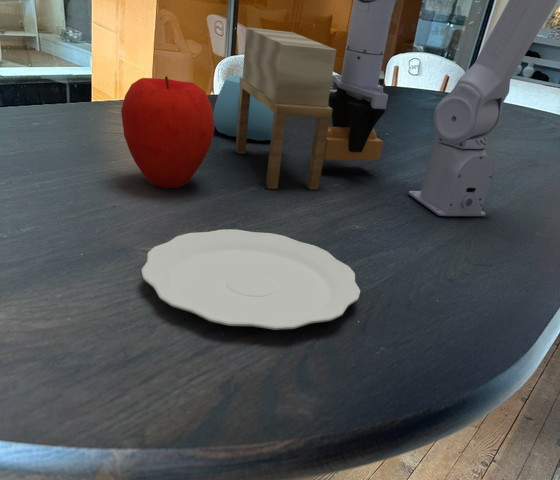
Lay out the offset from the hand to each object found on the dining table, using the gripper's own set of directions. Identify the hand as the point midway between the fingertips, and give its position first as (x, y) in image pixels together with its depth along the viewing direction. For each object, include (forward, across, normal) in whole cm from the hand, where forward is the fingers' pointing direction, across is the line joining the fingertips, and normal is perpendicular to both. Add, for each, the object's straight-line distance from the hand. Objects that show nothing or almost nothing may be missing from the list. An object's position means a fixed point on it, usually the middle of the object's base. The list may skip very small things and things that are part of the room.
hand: (347, 146), depth 94 cm
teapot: (+4, +23, +8) cm, 24 cm away
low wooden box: (+1, 0, 0) cm, 1 cm away
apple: (+4, -6, +30) cm, 31 cm away
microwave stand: (+4, +1, +12) cm, 13 cm away
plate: (+4, -37, +29) cm, 48 cm away
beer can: (+4, +24, -17) cm, 29 cm away
